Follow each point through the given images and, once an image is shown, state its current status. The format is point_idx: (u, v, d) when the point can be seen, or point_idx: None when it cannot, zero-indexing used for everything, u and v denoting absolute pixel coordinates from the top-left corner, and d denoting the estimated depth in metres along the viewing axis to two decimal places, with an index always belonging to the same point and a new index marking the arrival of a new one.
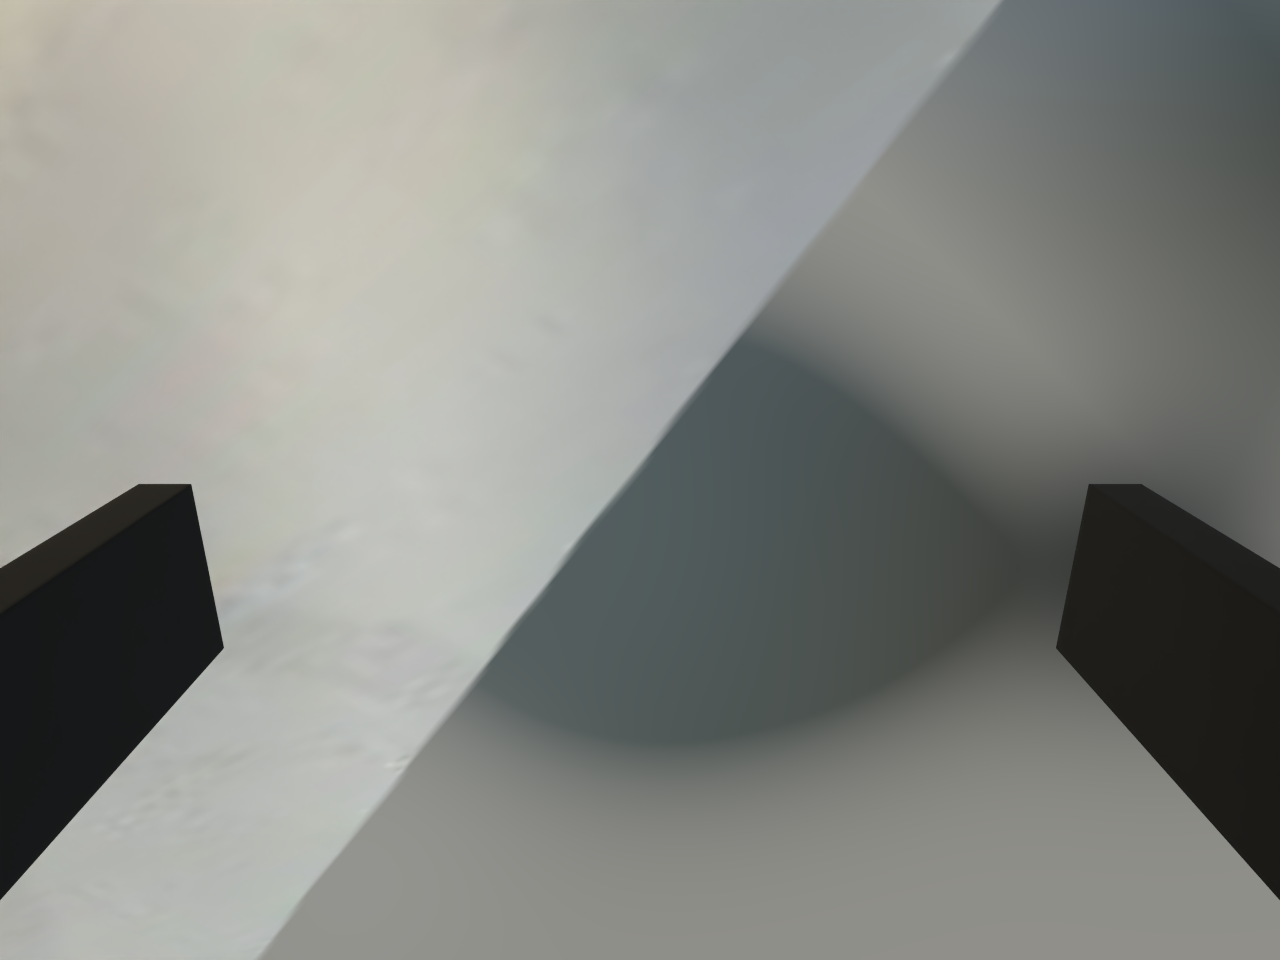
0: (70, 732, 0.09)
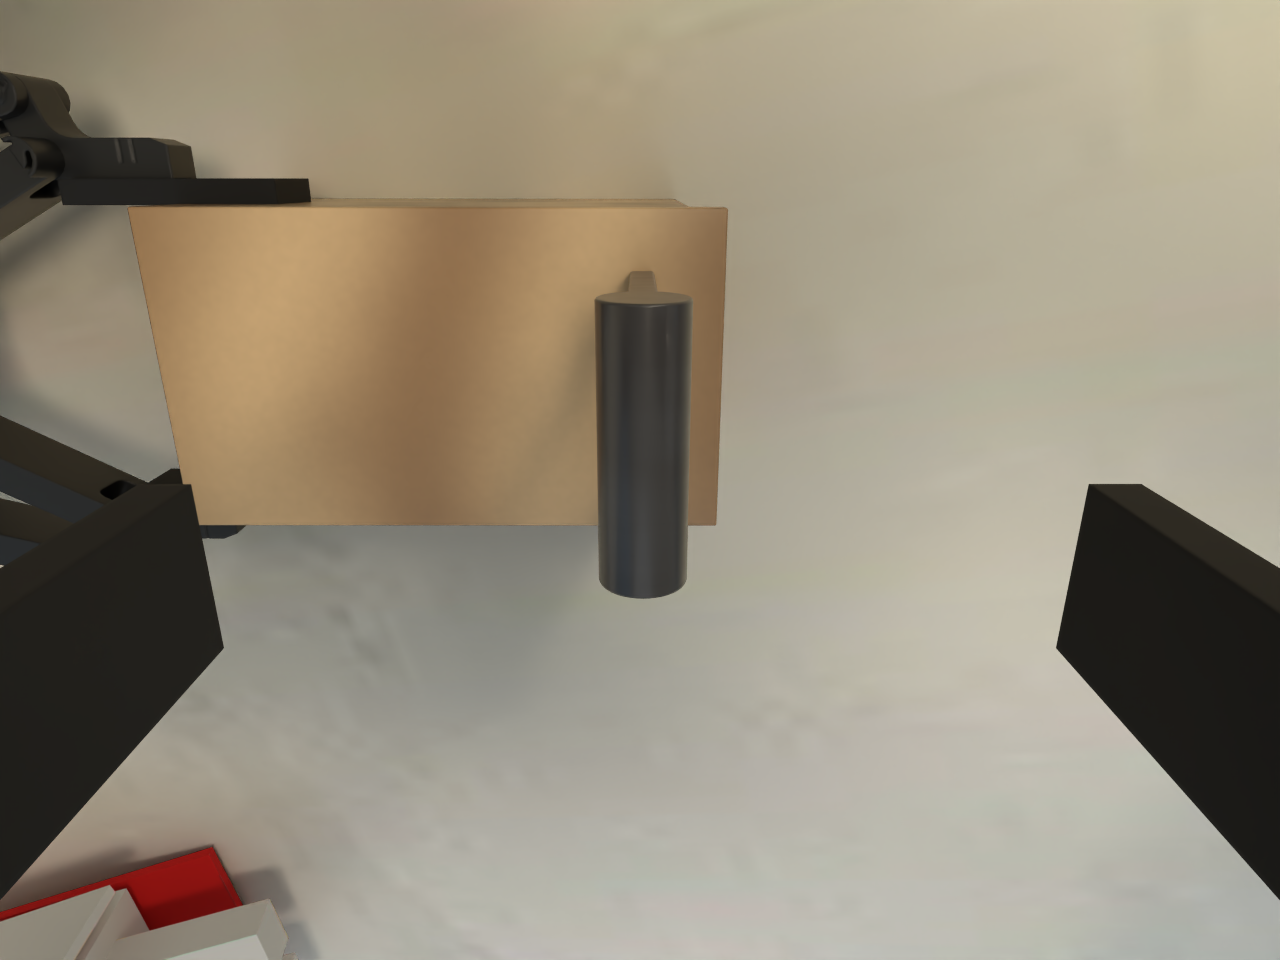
0: (70, 732, 0.09)
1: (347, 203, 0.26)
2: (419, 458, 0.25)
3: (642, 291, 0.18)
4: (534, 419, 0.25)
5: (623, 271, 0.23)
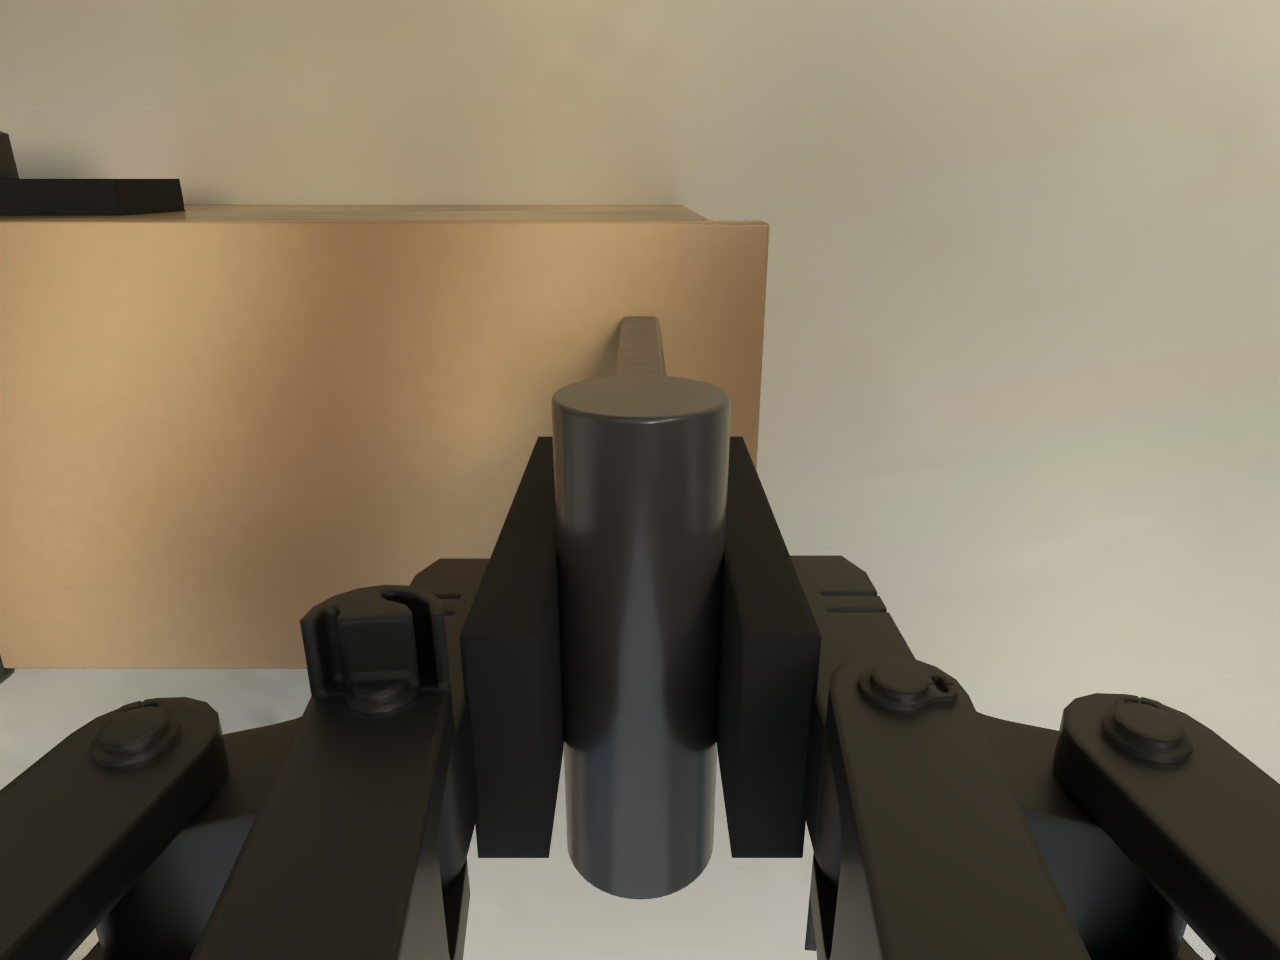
0: None
1: None
2: (322, 579, 0.17)
3: (639, 376, 0.10)
4: (484, 525, 0.17)
5: (612, 316, 0.16)
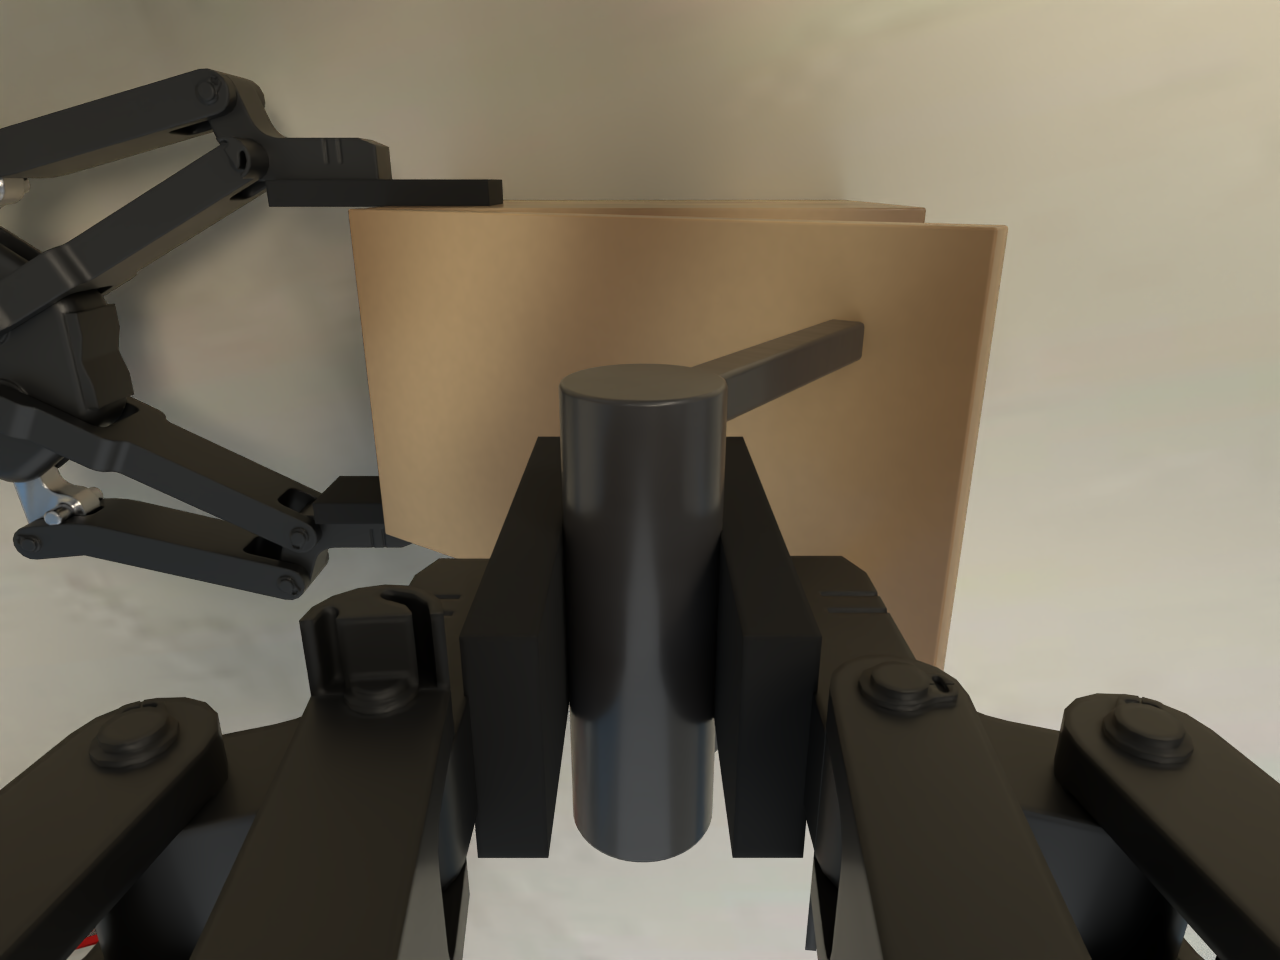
0: None
1: None
2: None
3: (680, 366, 0.10)
4: None
5: (821, 318, 0.15)
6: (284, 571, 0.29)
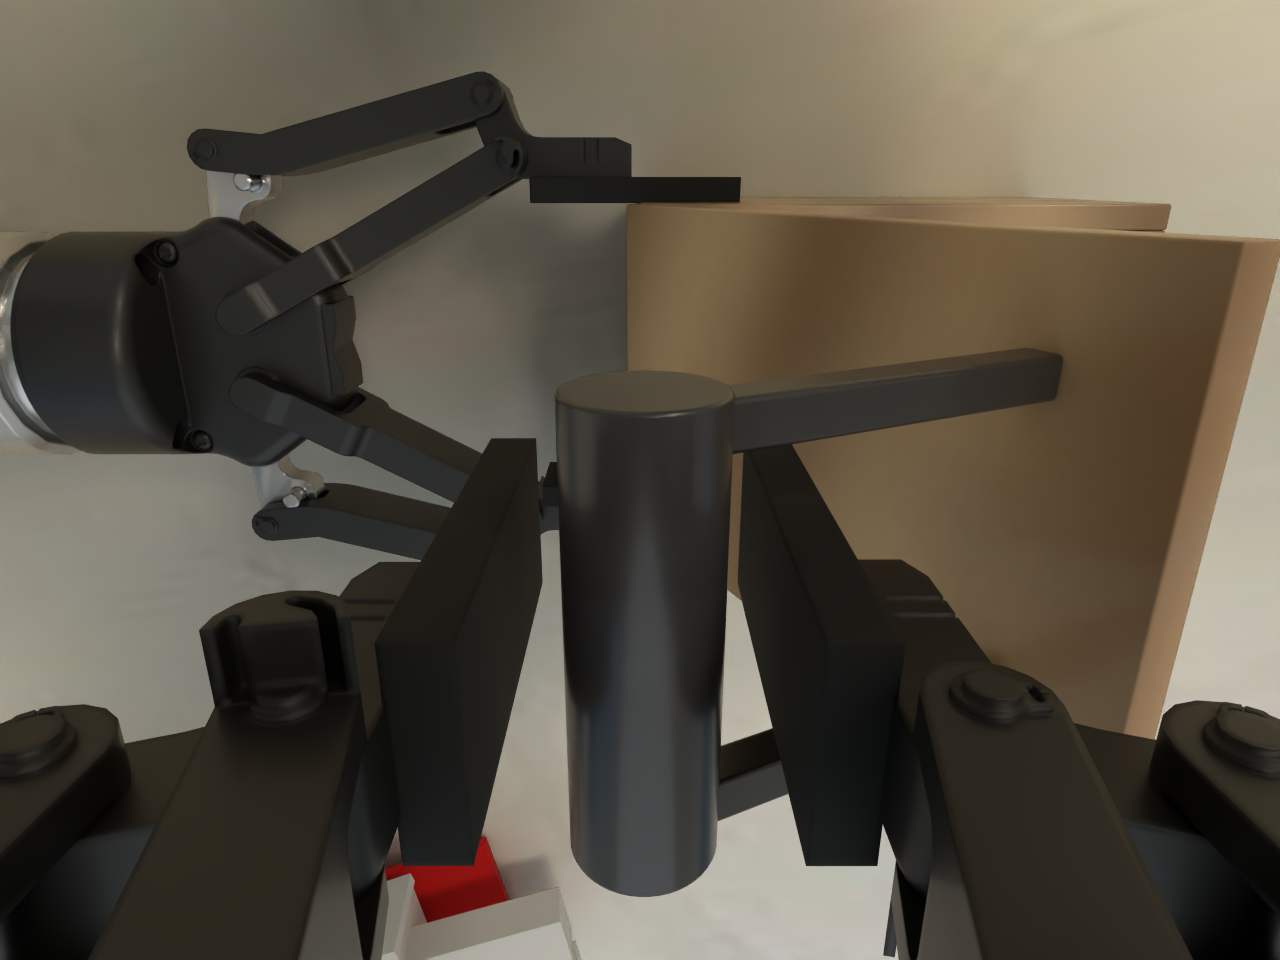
0: (513, 631, 0.11)
1: (790, 201, 0.26)
2: None
3: (709, 380, 0.10)
4: (868, 539, 0.16)
5: (1015, 344, 0.13)
6: None
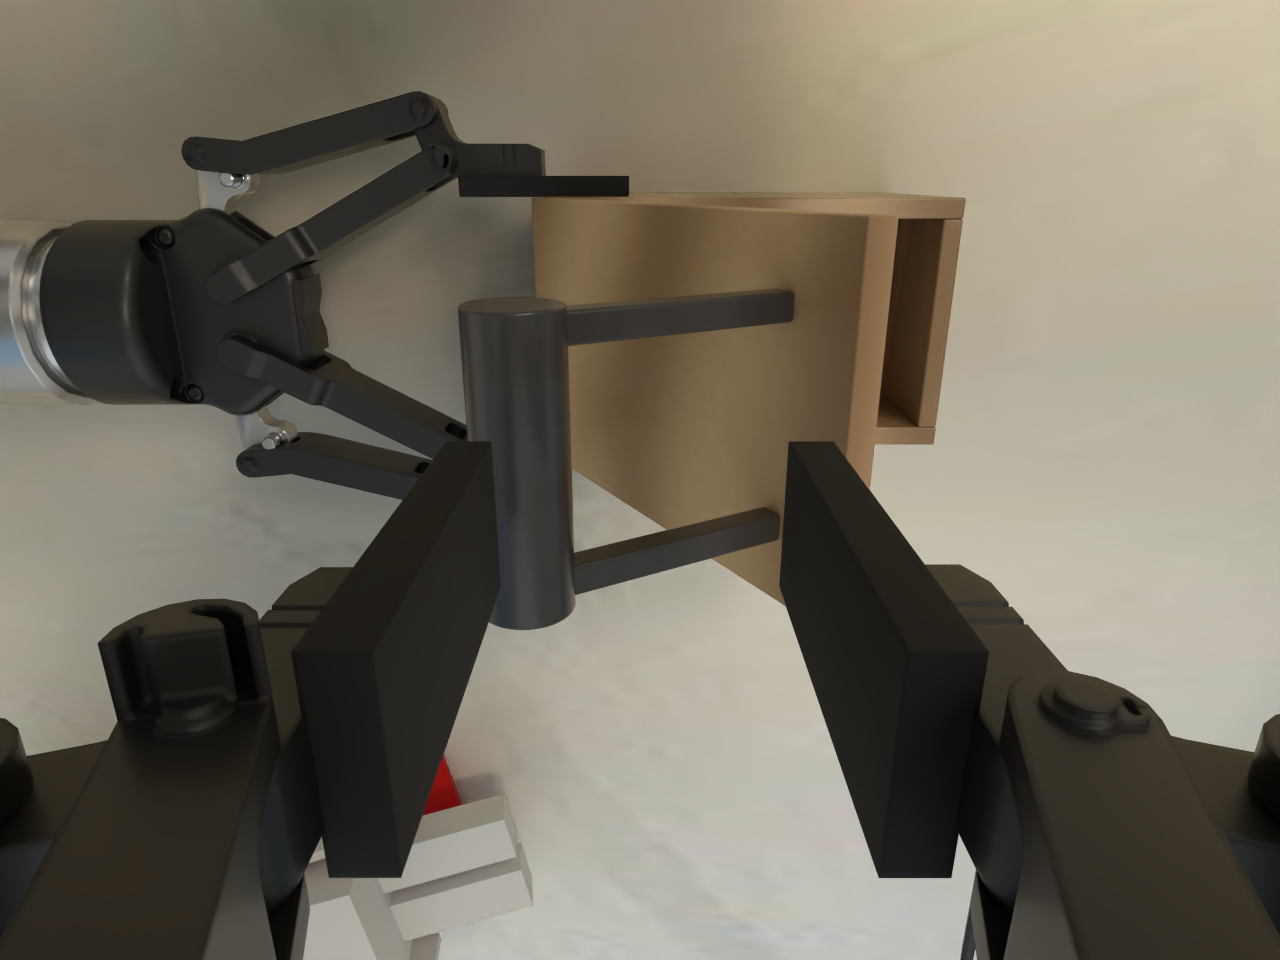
0: (458, 637, 0.11)
1: None
2: (635, 444, 0.26)
3: (554, 300, 0.16)
4: (700, 435, 0.23)
5: (771, 287, 0.19)
6: None
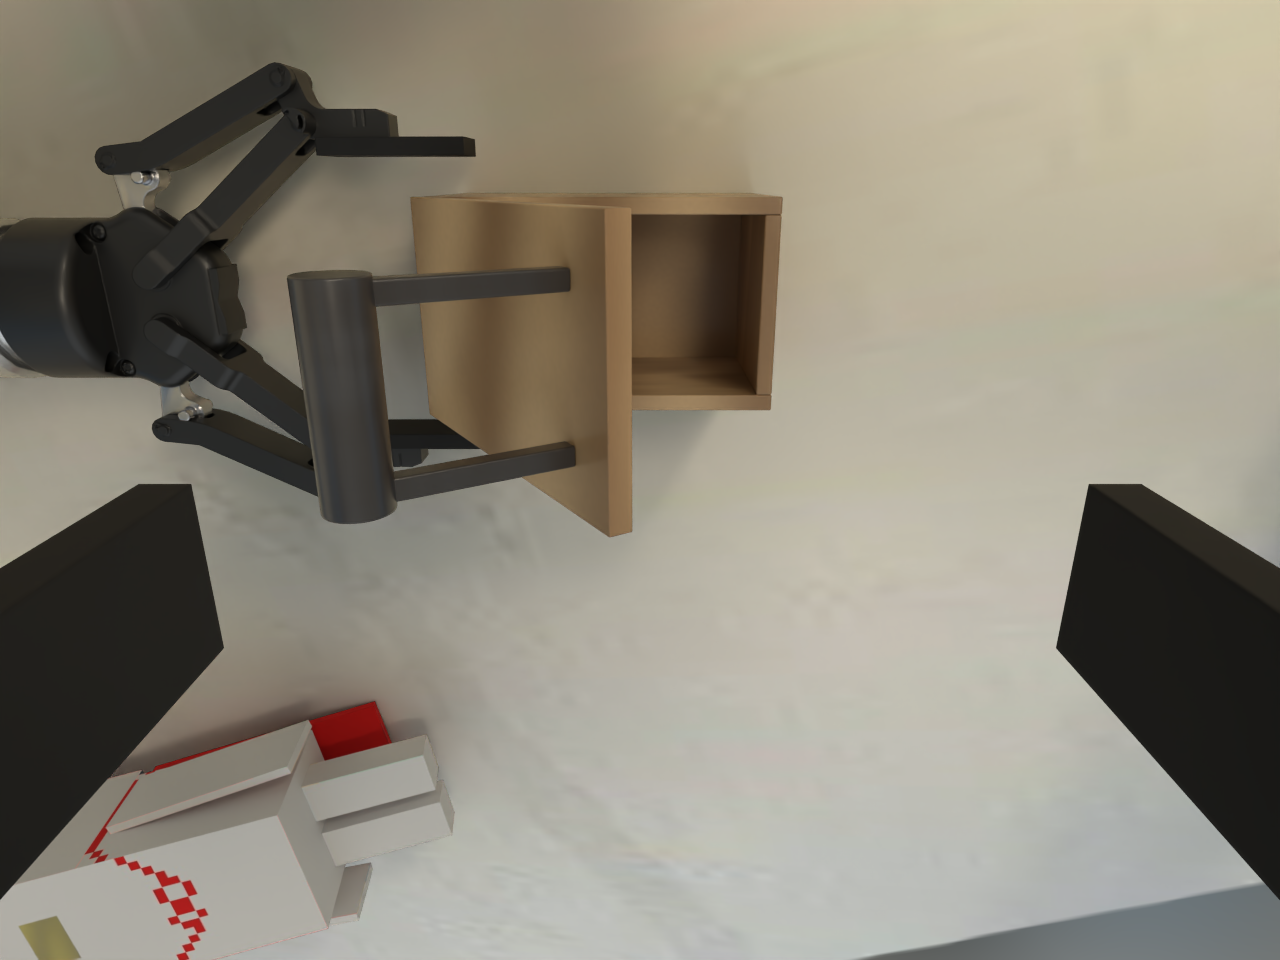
0: (70, 732, 0.09)
1: (542, 195, 0.38)
2: (488, 401, 0.31)
3: (364, 271, 0.21)
4: (525, 389, 0.28)
5: (557, 265, 0.24)
6: None
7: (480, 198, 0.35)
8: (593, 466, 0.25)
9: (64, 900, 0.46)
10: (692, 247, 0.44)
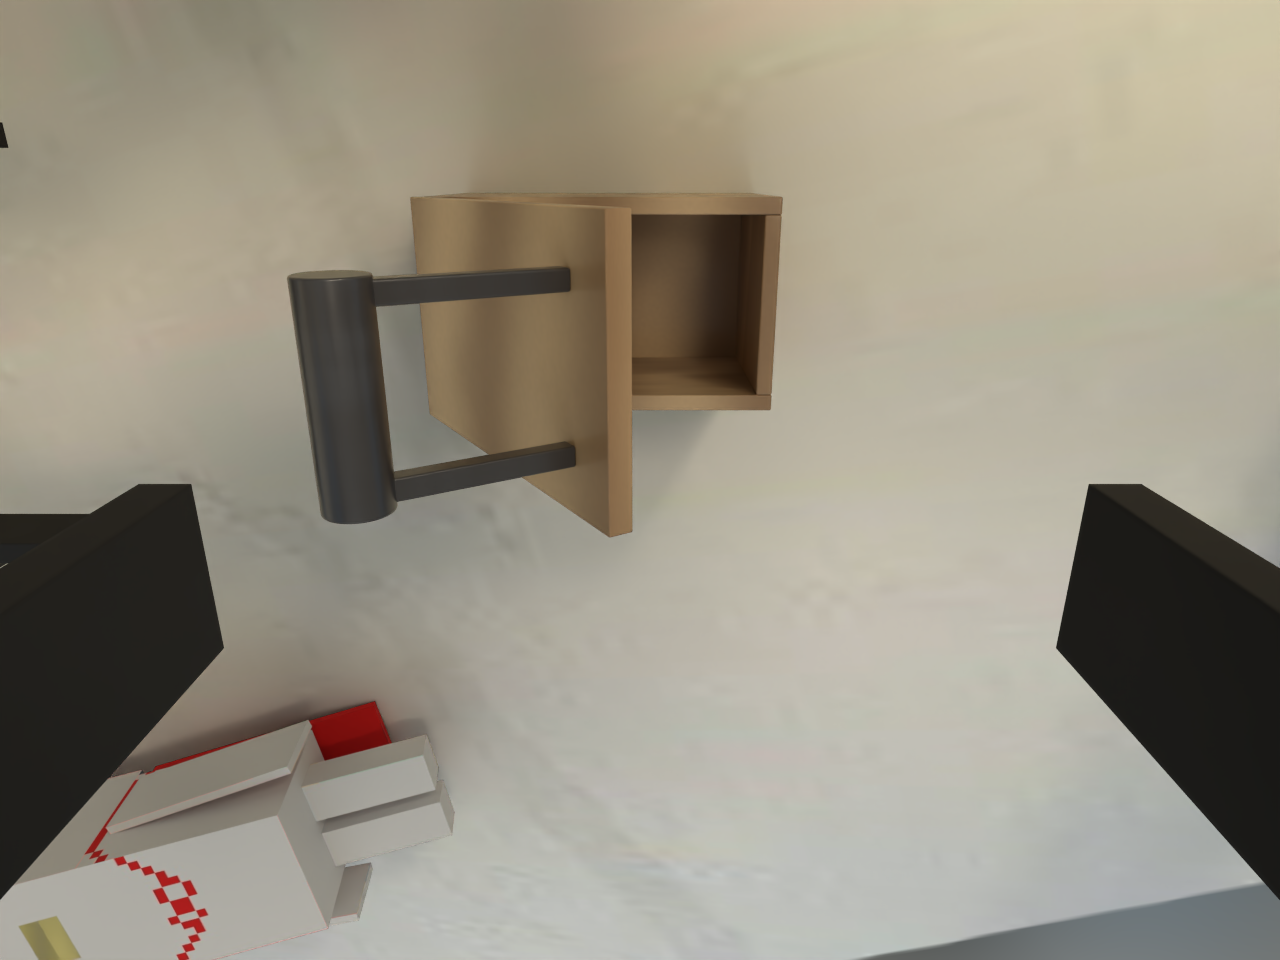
0: (70, 732, 0.09)
1: (542, 195, 0.38)
2: (488, 401, 0.31)
3: (364, 272, 0.21)
4: (525, 389, 0.28)
5: (557, 265, 0.24)
6: None
7: (480, 198, 0.35)
8: (593, 466, 0.25)
9: (64, 900, 0.46)
10: (692, 247, 0.44)
